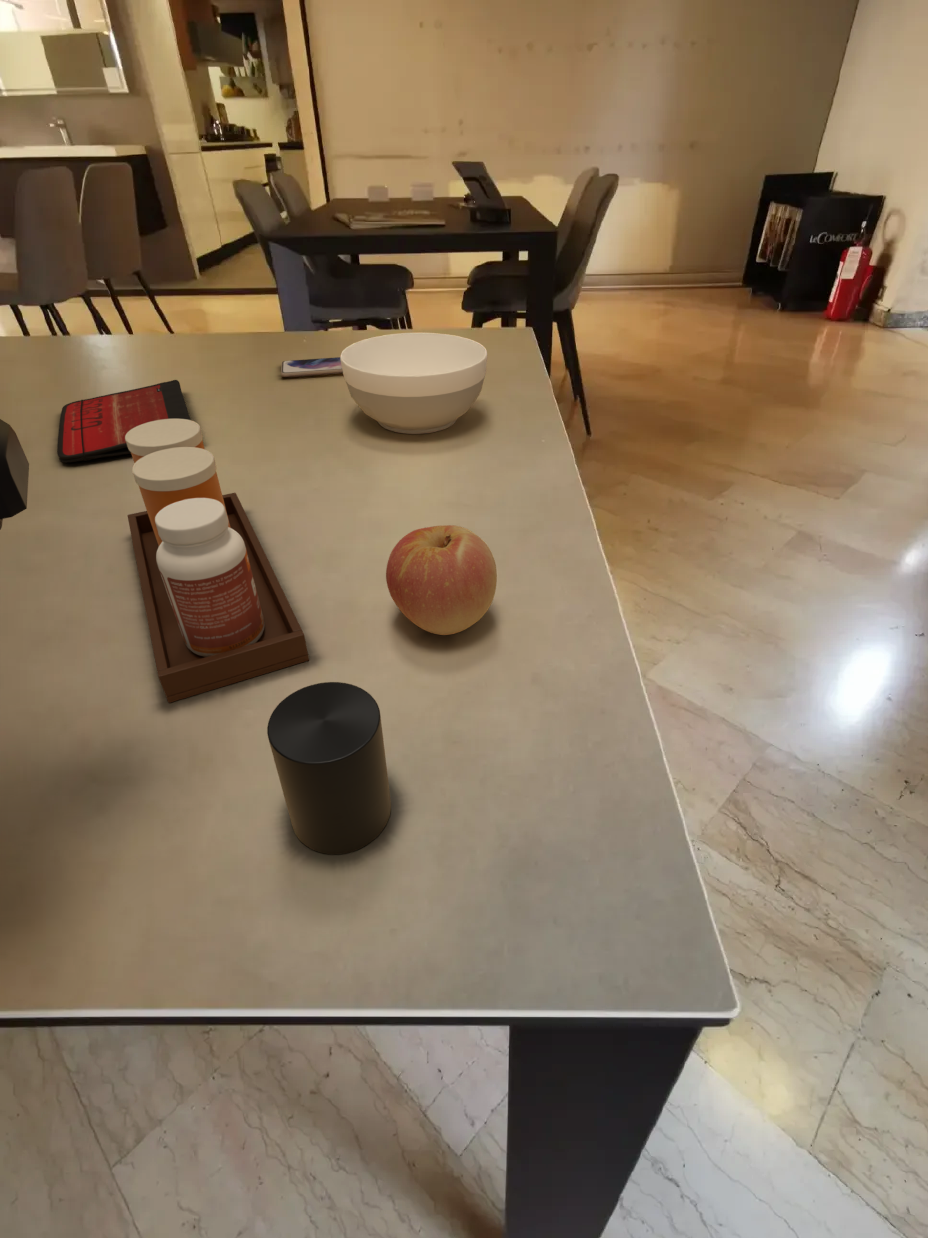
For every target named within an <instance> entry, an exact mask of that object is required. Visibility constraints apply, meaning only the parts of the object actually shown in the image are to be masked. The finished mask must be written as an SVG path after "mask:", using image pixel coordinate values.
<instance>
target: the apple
mask: <svg viewBox="0 0 928 1238" xmlns="http://www.w3.org/2000/svg"><path fill="white" fill-rule="evenodd" d="M385 581H386V586H387V589H388V592H389V595H390V597H391V599H392V601H393V602H394V604H395V605H396V607H397V608H398V610H399V611H400V612H401V613H402V614H403V615H404V617H406V618H407V619H408V620H409V621H410V622H411V623H413V624H414V625H415V626H417V627H419V628H420V629H421V630H423V631H425V632H428V633H431V634H434V635H440V636H449V635H454V634H457V633H460V632H463V631H465V630H467V629H468V628H470V627H472V626H473V625H474V624H476V623H477V622H479V621H480V620H481V619H482V618H483V616H484V615H485V614H486V613H487V612H488V610H489V608H490V607H491V605H492V603H493V601H494V598H495V595H496V591H497V582H498V572H497V564H496V561H495V557H494V555H493V552H492V550H491V549H490V547H489V545H488V544H487V543H486V541H484V540H483V539H482V537H480V536H479V535H478V534H476V533H474V532H473V531H471V530H470V529H468V528H466V527H463V526H460V525H453V524H452V525H451V524H448V525H447V524H446V525H444V524H443V525H433V526H427V527H422V528H418V529H414V530H412V531H410V532H409V533H407V534H405V535H404V536H403V537H402V538H401V539H399V541H398V542H397V543H396V544H395V546H394V547H393V549H392V550H391V552H390V554H389V557H388V559H387V562H386V568H385Z"/></svg>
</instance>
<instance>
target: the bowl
mask: <svg viewBox="0 0 928 1238" xmlns="http://www.w3.org/2000/svg"><path fill="white" fill-rule="evenodd" d="M339 357H340V360H341V365H342V370H343V373H342V375H343V379H344V381H345V384H346V387H347V389H348V392H349V394H350V397H351V398H352V400H353V401H354V402H355V403H356V404H357V406H358V407H359V408H360V410H362V412H363V413H364V414H365V415H366V416H368V417H369V418H371V419H372V420H374V421H376V422H377V423H378V425H379V426H381V427H382V428H383V429H385V430H388V431H390V432H395V433H399V434H407V435H422V434H430V433H436V432H440V431H444V430H446V429H448V428H450V427H452V426H453V425H454V424H456V422H457V420H458V419H459V418H460V417H462V416H463V415H465V414H466V413H468V411H469V410H470V409H471V408H472V407H473V405H474V403H475V402H476V400H477V399H478V397H479V396H480V394H481V392H482V390H483V385H484V383H485V378H486V374H487V367H488V366H487V365H488V350H487V349H486V347H485V346H484V345H482V344H481V343H480V342H478V341H476V340H473V339H471V338H467V337H464V336H460V335H454V334H448V333H437V332H402V333H401V332H400V333H391V334H384V335H377V336H372V337H369V338H365V339H361V340H359V341H356V342H354V343H352V344H350V345H348V346H346V347H345V348H344V349H343V350H342V351H341V353H340V356H339Z"/></svg>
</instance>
